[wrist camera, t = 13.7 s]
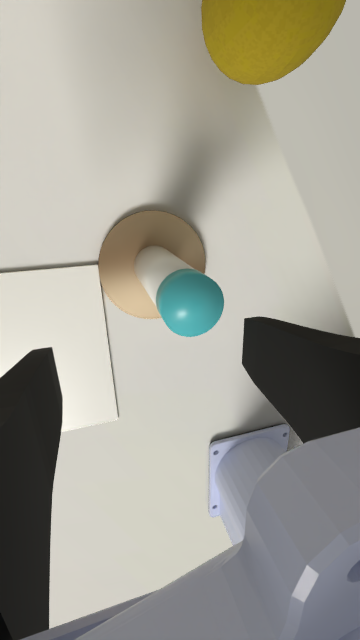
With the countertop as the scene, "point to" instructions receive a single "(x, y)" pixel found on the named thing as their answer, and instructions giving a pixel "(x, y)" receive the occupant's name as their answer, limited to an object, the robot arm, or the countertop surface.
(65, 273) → the paper
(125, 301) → the coaster
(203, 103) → the countertop surface
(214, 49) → the lemon
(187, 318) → the marker
